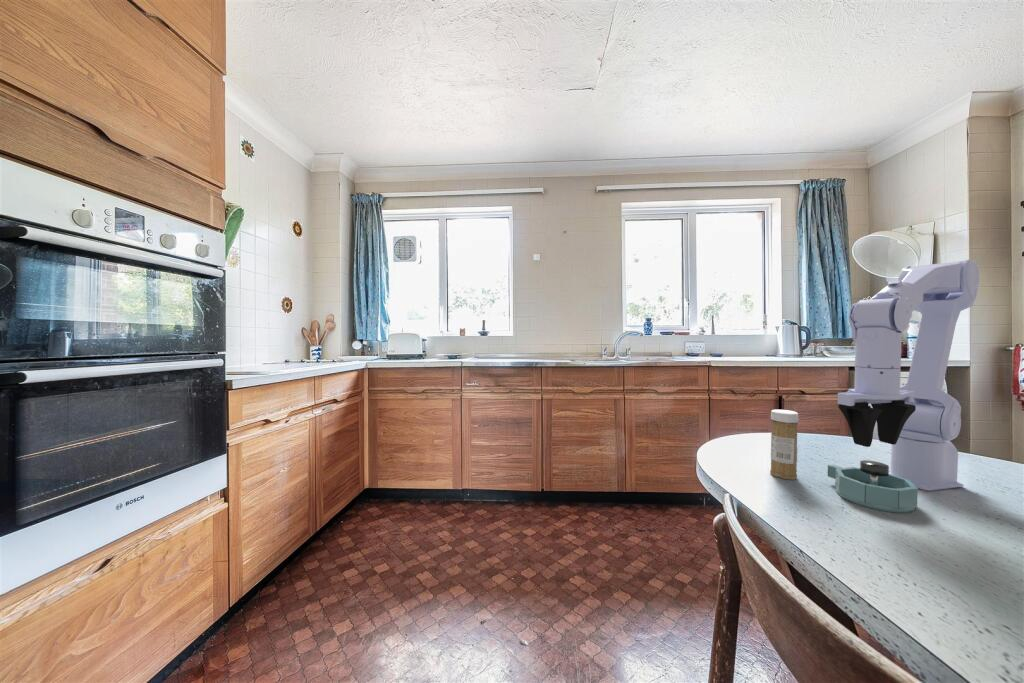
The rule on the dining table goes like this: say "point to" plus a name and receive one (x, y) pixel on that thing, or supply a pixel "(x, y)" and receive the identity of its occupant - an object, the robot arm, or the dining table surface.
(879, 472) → the doorknob
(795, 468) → the sprinkles bottle
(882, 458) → the dining table surface
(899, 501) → the teal tabbed tray
